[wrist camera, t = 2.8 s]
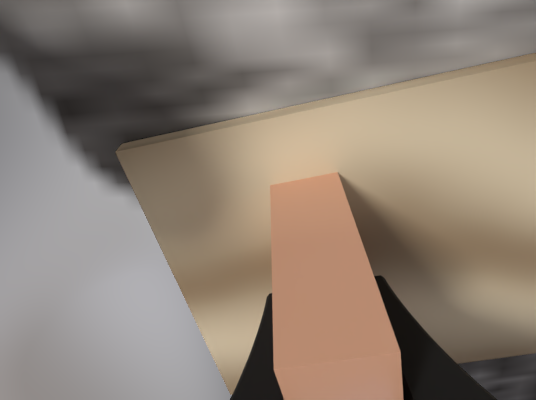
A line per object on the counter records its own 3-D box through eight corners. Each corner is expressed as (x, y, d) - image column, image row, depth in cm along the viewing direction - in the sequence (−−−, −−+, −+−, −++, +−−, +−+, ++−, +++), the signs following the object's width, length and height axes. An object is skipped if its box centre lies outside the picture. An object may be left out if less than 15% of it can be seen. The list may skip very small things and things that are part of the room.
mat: (661, 321, 15) (675, 334, 15) (231, 381, 17) (230, 394, 17) (820, -10, 9) (853, -9, 9) (122, 143, 11) (114, 152, 11)
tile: (362, 346, 15) (412, 541, 10) (312, 353, 15) (336, 547, 10) (337, 172, 11) (400, 351, 6) (270, 185, 11) (273, 369, 6)
